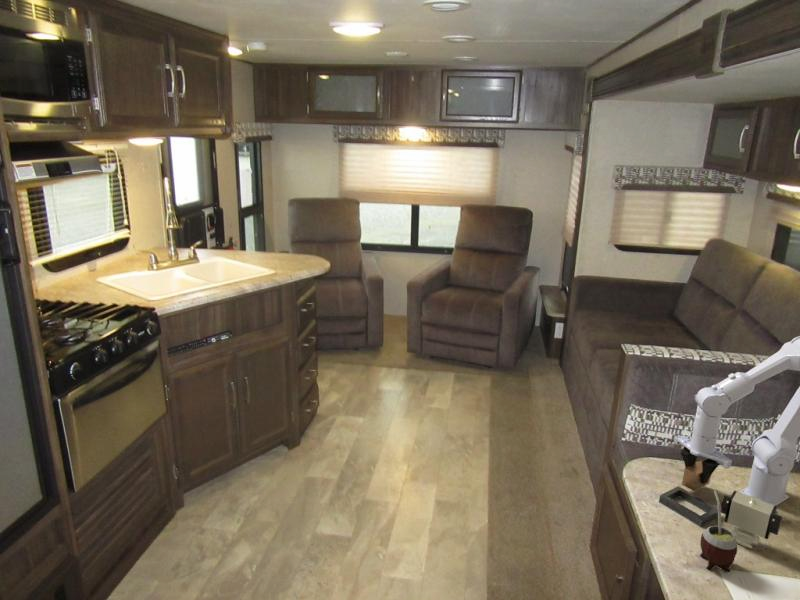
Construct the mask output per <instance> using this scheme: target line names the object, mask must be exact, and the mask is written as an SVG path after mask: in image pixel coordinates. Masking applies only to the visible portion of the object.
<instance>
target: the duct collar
mask: <svg viewBox="0 0 800 600" xmlns="http://www.w3.org/2000/svg"><path fill="white" fill-rule="evenodd" d="M678 497H679V498H681V499H682V500H684V501H686V502H688V503H690V504H692V505H693V506H695V507H697V508H698V509H699V510H702V511H703V512H704V513H703V514H701V515H700V514H698V513H697V512H694V511H693V510H692V509H690V508H688V507H687V506H685V505H683V504H681V503H679V502H678V501H676V500H674V499H676V498H678ZM658 503H659V504H662V505H663V506H664V507H665V506H666V508H668V509H670V510H672V511H673V512H675V513H677V514H678V515H680V516H682V517H683V518H685V519H686V520H688V521H690V522H692V523H693V524H695V525H697V526H699V527H700V528H702V527H704V526H705V525H707V524H709V523H711V522H712V521H714V520H715V519H718V510H717V506H715V505H713V504H711V503H710V502H708V501H706V500H704V499H703V498H700V497H699V496H697V495H695V494H694V493H692V492H691V491H690V492H689V491H688V490H686V489H684V488H682V487H681V486H676V487H673V488H672V489H670V490H668V491H666V492H664V493H662V494H660V495H659V499H658Z"/></svg>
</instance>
